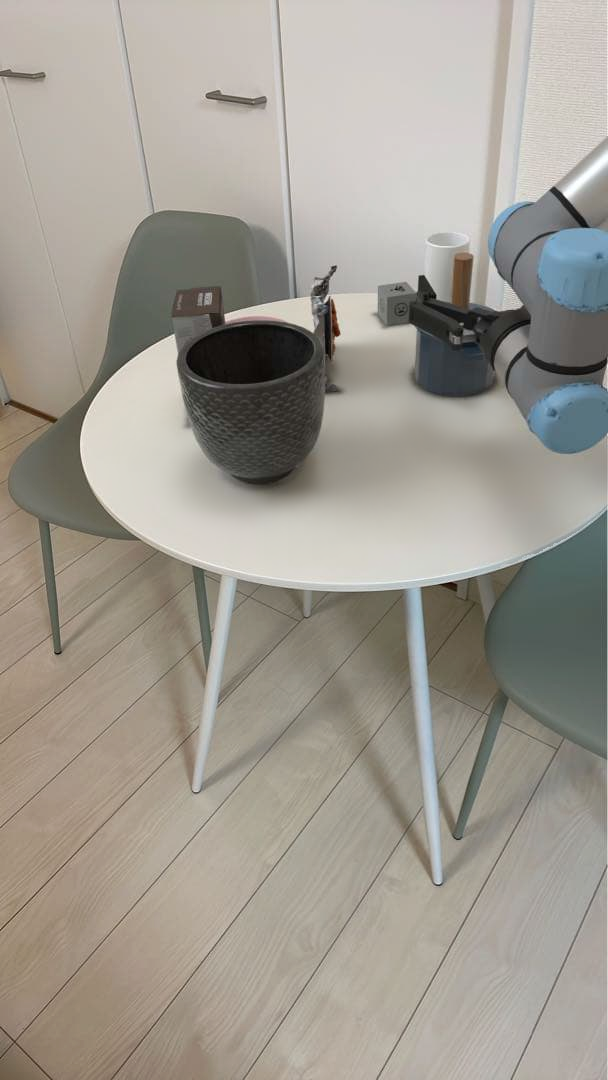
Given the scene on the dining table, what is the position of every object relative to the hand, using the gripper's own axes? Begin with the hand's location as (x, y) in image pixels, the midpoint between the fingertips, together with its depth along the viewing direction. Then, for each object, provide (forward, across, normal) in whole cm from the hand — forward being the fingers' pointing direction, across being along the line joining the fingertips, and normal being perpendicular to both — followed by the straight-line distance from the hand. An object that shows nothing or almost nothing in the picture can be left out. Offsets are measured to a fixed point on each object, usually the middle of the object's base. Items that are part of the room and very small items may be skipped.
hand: (471, 280), depth 99 cm
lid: (+4, 0, -8) cm, 8 cm away
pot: (+4, 0, -16) cm, 16 cm away
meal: (+10, -18, -16) cm, 27 cm away
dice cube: (+25, -4, -16) cm, 30 cm away
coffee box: (+2, -36, -16) cm, 40 cm away
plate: (+20, -29, -16) cm, 39 cm away
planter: (-14, -30, -16) cm, 37 cm away
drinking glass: (+18, +2, -16) cm, 25 cm away
